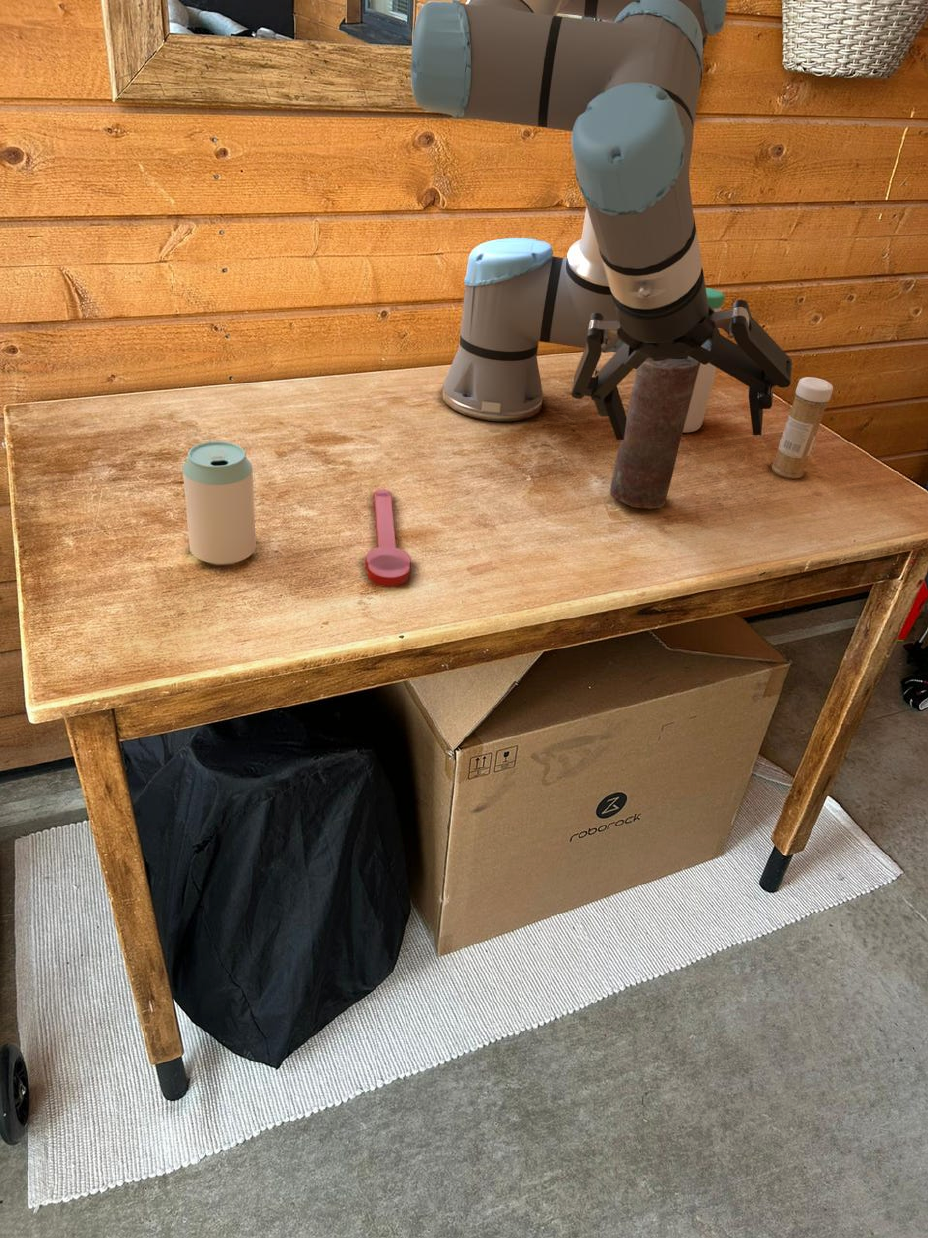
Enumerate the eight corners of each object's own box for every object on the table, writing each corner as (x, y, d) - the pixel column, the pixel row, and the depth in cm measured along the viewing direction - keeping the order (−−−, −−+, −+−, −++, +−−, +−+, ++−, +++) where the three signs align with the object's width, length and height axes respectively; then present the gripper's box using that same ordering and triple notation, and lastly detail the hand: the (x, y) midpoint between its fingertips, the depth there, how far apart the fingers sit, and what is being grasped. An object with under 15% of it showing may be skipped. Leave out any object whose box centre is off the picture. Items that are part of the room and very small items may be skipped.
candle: (650, 523, 117) (688, 370, 105) (598, 503, 120) (629, 353, 108) (672, 500, 123) (711, 353, 111) (622, 482, 125) (654, 336, 113)
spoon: (361, 495, 116) (362, 486, 115) (402, 496, 116) (402, 487, 116) (366, 586, 100) (366, 577, 99) (412, 587, 101) (413, 578, 100)
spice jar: (809, 476, 132) (841, 386, 124) (788, 482, 130) (819, 391, 122) (784, 462, 135) (814, 373, 127) (763, 468, 133) (792, 378, 125)
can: (269, 549, 104) (266, 452, 97) (224, 576, 99) (217, 476, 92) (222, 527, 107) (216, 431, 99) (176, 553, 102) (166, 453, 94)
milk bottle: (703, 419, 145) (738, 289, 133) (697, 438, 139) (733, 304, 127) (655, 408, 147) (685, 279, 135) (646, 426, 141) (677, 293, 129)
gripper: (504, 327, 80) (564, 461, 98) (816, 300, 70) (817, 454, 88) (518, 258, 82) (573, 401, 100) (820, 224, 73) (821, 388, 91)
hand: (688, 426), depth 94 cm, fingers open, 13 cm apart
